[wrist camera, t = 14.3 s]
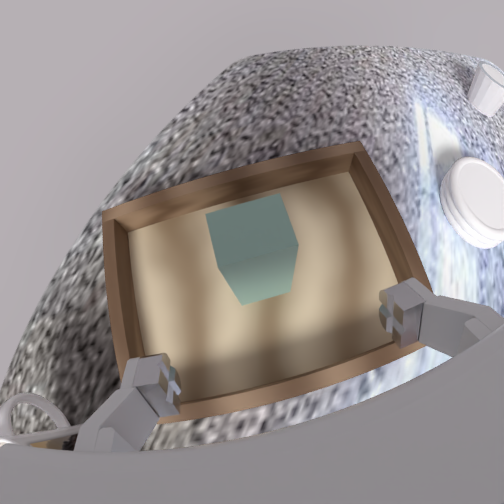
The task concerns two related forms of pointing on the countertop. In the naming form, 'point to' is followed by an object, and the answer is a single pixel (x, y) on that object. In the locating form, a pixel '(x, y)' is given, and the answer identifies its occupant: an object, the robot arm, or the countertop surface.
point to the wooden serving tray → (268, 310)
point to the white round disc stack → (474, 202)
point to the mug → (48, 439)
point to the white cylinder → (487, 89)
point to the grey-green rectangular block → (254, 248)
